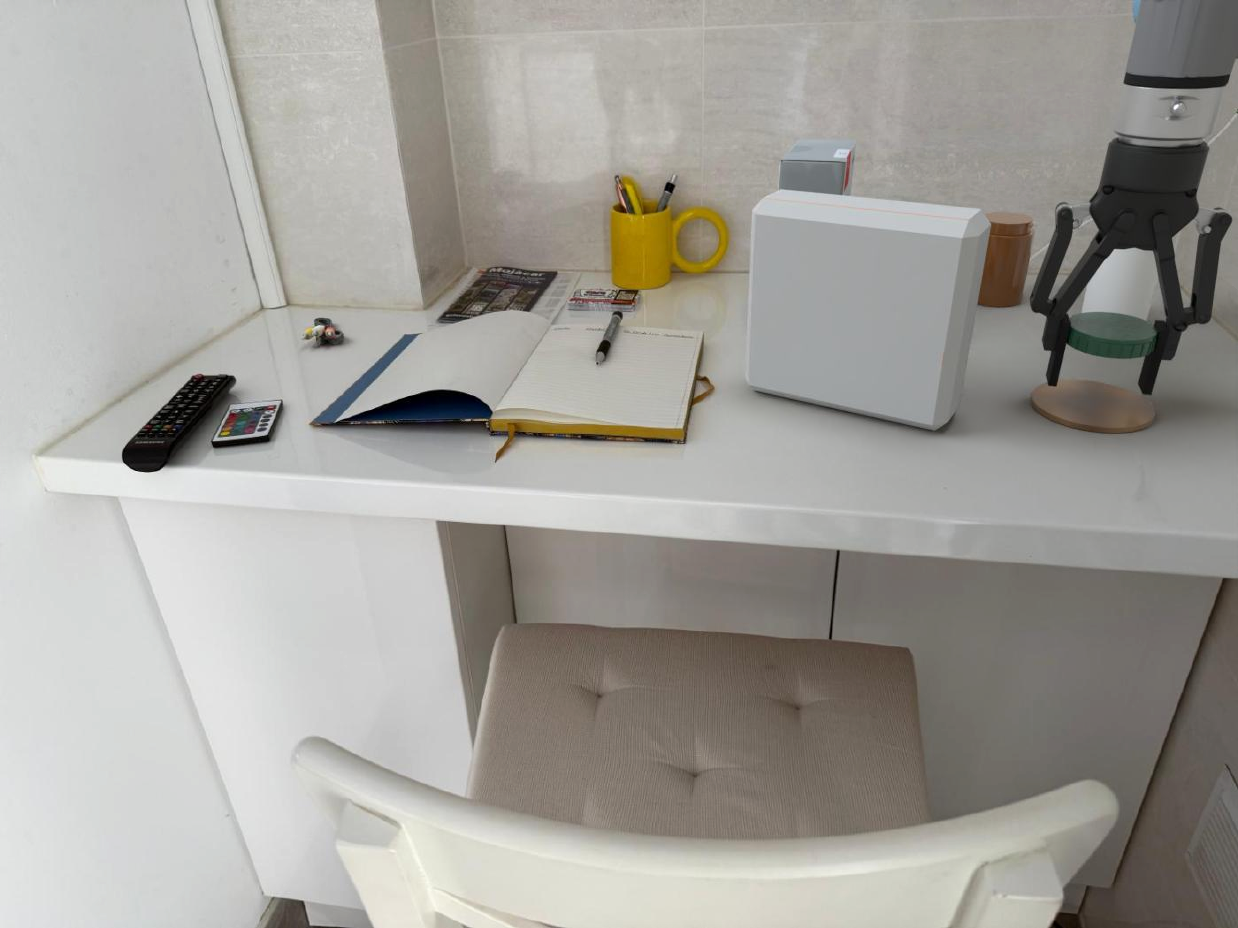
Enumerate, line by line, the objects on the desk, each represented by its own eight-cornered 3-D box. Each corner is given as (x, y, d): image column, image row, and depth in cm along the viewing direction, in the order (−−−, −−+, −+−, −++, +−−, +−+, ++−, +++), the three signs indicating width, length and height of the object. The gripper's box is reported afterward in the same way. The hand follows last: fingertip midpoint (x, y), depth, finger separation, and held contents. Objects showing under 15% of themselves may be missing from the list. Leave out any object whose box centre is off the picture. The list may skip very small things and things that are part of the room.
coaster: (1143, 390, 90) (1144, 385, 89) (1164, 439, 80) (1166, 433, 80) (1026, 380, 93) (1027, 374, 92) (1034, 425, 84) (1035, 420, 83)
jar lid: (1067, 355, 81) (1071, 337, 80) (1059, 326, 88) (1063, 308, 87) (1160, 362, 79) (1166, 344, 78) (1145, 332, 85) (1150, 314, 84)
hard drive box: (830, 330, 107) (845, 161, 97) (767, 325, 109) (776, 159, 99) (842, 291, 120) (857, 137, 110) (786, 287, 122) (795, 136, 112)
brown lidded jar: (1019, 291, 117) (1035, 212, 112) (1023, 309, 111) (1039, 226, 106) (964, 288, 119) (977, 210, 114) (964, 305, 113) (978, 223, 108)
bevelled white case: (964, 406, 88) (1000, 204, 78) (941, 439, 82) (977, 225, 72) (771, 366, 98) (781, 183, 88) (738, 393, 92) (746, 200, 82)
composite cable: (314, 324, 115) (310, 306, 114) (351, 321, 116) (348, 303, 115) (303, 352, 107) (299, 333, 106) (343, 348, 107) (339, 329, 106)
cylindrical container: (1078, 324, 106) (1127, 103, 94) (1083, 305, 112) (1131, 94, 99) (1145, 332, 103) (1205, 104, 91) (1147, 313, 108) (1204, 96, 96)
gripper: (1032, 144, 74) (986, 390, 85) (1316, 149, 68) (1227, 412, 79) (1026, 129, 80) (984, 360, 91) (1286, 133, 74) (1207, 379, 86)
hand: (1097, 384), depth 85 cm, fingers closed on jar lid, 7 cm apart
